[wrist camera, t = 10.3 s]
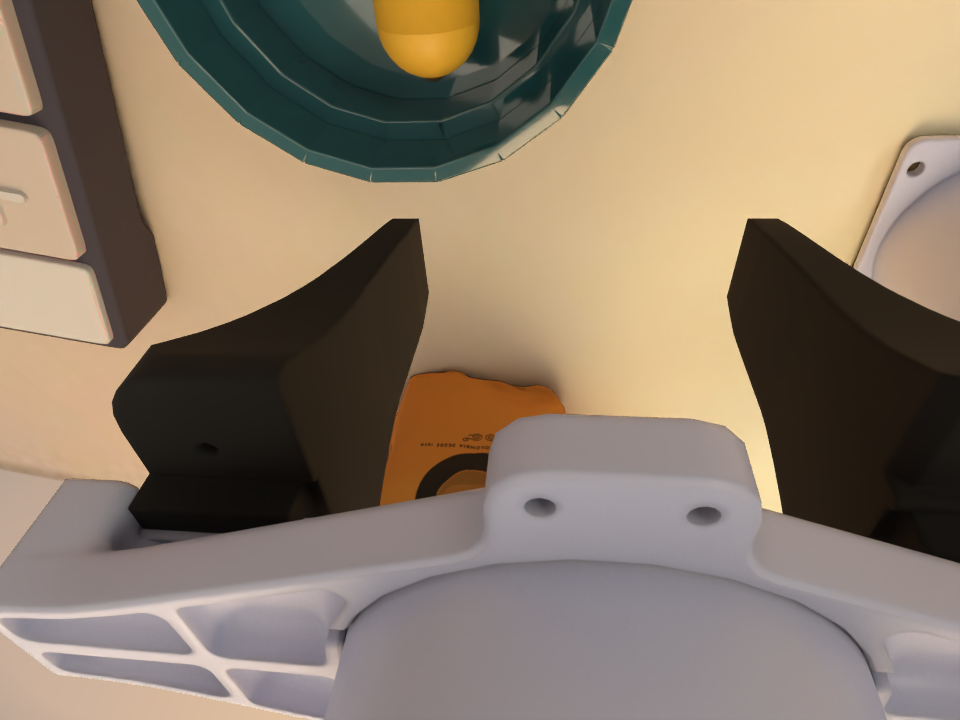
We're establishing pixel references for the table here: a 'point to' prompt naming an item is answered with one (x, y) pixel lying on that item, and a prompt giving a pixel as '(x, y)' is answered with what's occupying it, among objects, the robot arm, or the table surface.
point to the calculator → (67, 185)
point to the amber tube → (428, 34)
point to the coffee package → (452, 432)
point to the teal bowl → (388, 79)
